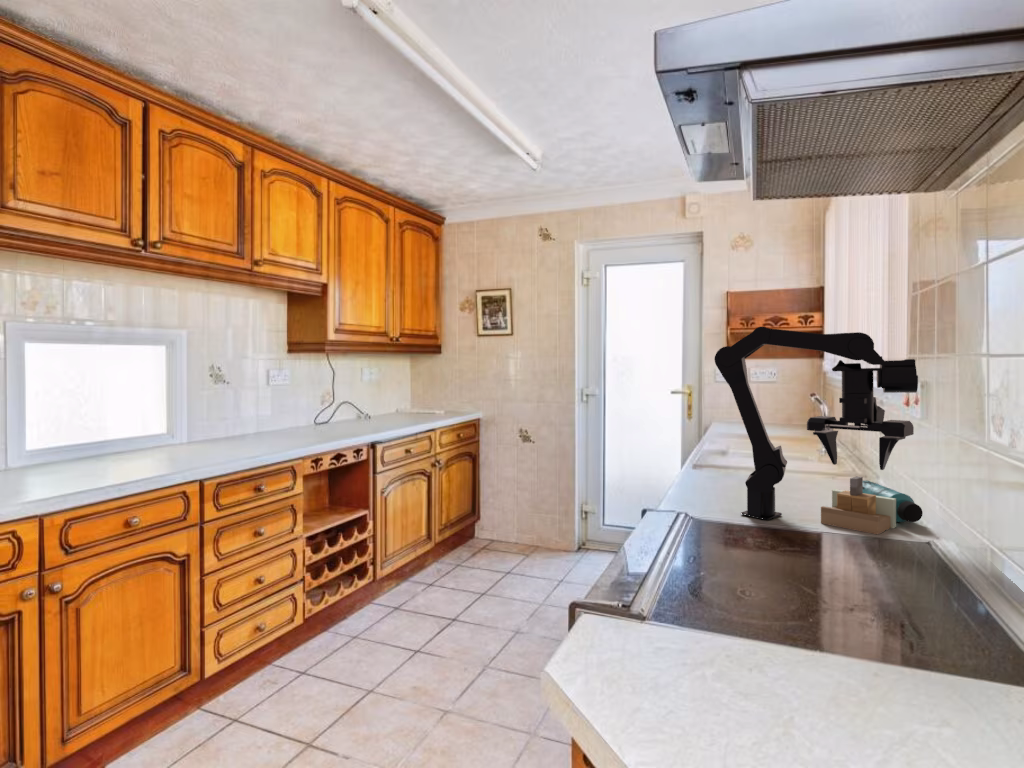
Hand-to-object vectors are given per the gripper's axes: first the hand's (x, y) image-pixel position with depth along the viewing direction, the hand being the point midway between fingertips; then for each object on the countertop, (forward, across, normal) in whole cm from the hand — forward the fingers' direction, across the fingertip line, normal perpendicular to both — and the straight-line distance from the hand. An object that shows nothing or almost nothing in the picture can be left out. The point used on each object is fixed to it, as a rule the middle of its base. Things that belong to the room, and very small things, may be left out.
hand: (857, 466), depth 123 cm
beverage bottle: (+9, +7, -18) cm, 21 cm away
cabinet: (+10, 0, 0) cm, 10 cm away
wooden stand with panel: (+12, 0, 0) cm, 12 cm away
